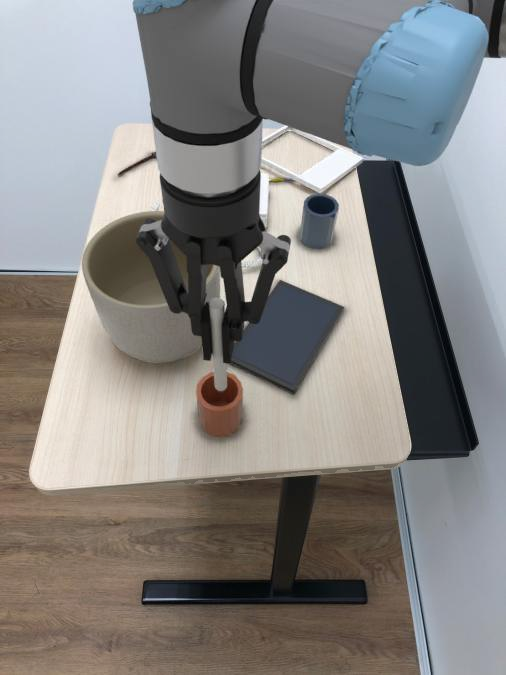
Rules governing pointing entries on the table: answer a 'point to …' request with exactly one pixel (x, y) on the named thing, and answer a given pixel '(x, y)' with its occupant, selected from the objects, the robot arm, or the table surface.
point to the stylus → (218, 343)
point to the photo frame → (321, 172)
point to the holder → (318, 220)
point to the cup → (220, 405)
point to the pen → (279, 179)
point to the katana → (138, 162)
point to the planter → (139, 293)
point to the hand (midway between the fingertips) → (219, 351)
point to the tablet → (286, 336)
